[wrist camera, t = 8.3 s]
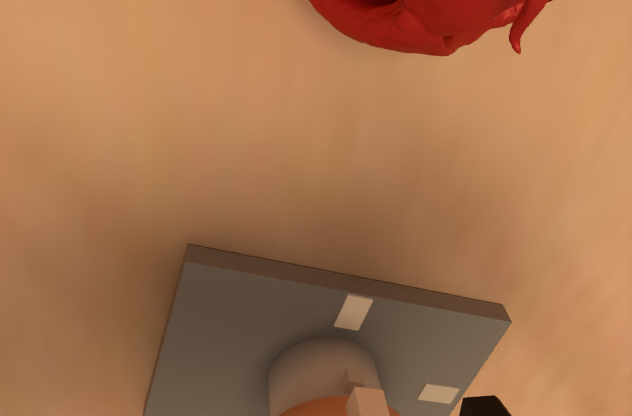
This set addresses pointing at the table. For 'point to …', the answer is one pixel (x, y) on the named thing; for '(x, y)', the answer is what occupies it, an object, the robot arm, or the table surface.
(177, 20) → the table surface
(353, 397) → the bayonet cap
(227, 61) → the table surface
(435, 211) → the table surface
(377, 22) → the pomegranate
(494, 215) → the table surface
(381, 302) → the post base
